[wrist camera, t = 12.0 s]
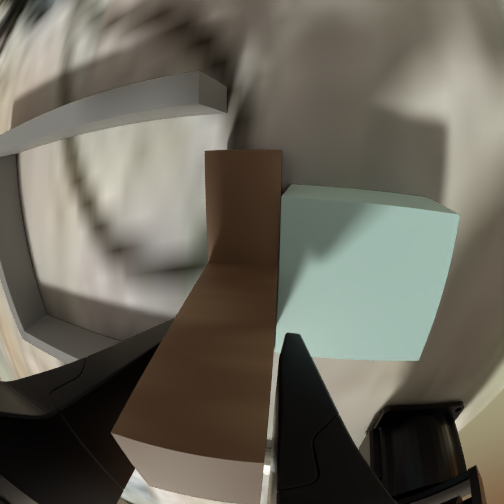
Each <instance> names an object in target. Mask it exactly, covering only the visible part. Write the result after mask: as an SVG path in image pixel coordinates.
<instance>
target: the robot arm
mask: <svg viewBox="0 0 504 504" xmlns="http://www.w3.org/2000/svg"><path fill="white" fill-rule="evenodd" d="M174 319H175V318H174ZM174 319H171V320H169V321H167V322H165V323H163V324H160V325H158V326H156V327H154V328H151V329H149V330H147V331H145V332H142V333H140V334H138V335H135V336H133V337H131V338H128V339H126V340H124V341H122V342H119V343H117V344H115V345H112V346H110V347H108V348H105V349H103V350H100V351H98V352H96V353H93V354H91V355H89V356H87V358H86V357H84V358H81V359H79V360H76V361H74V362H71V363H69V364H66V365H64V366H61V367H58V368H55V369H52V370H49V371H45V372H42V373H39V374H35V375H32V376H29V377H25V378H22V379H18V380H14V381H8V382H3V381H0V504H117V502H118V500H119V498H120V497H121V495H122V493H123V491H124V490H123V489H125V487H126V485H127V483H128V481H129V479H130V477H131V475H132V474H133V472H134V470H135V467H134V466H133V464H132V463H131V462H130V460H129V459H128V457H127V456H126V455H125V453H124V452H123V450H122V449H121V447H120V446H119V444H118V443H117V441H116V440H115V438H114V437H113V435H112V434H111V431H112V429H113V427H114V425H115V423H116V422H117V420H118V418H119V416H120V414H121V412H122V410H123V409H124V407H125V405H126V403H127V401H128V399H129V398H130V396H131V394H132V392H133V390H134V389H135V387H136V385H137V383H138V381H139V380H140V378H141V376H142V374H143V373H144V371H145V369H146V367H147V366H148V364H149V362H150V360H151V359H152V357H153V355H154V353H155V352H156V350H157V348H158V346H159V345H160V343H161V341H162V339H163V338H164V336H165V334H166V333H167V331H168V329H169V328H170V326H171V324H172V322H173V321H174ZM463 409H464V405H463V402H462V401H457V402H449V403H439V404H426V405H408V406H388V407H386V408H384V409H383V410H382V412H381V414H380V416H379V418H378V419H377V421H376V423H375V425H374V427H373V428H372V429H371V430H370V431H369V432H368V433H367V435H366V437H365V439H364V440H363V442H362V444H361V445H360V447H359V450H358V448H357V447H356V445H355V443H354V442H353V440H352V438H351V436H350V434H349V433H348V431H347V429H346V427H345V425H344V423H343V421H342V419H341V417H340V415H339V413H338V411H337V409H336V407H335V404H334V402H333V400H332V398H331V396H330V394H329V392H328V390H327V388H326V386H325V384H324V382H323V380H322V378H321V376H320V374H319V371H318V369H317V367H316V365H315V363H314V361H313V359H312V357H311V355H310V353H309V351H308V349H307V347H306V345H305V343H304V341H303V339H302V337H301V335H300V334H298V333H289V332H287V333H286V334H285V337H284V341H283V345H282V349H281V353H280V357H279V365H278V376H277V386H276V396H275V405H274V419H273V435H272V449H271V463H270V476H269V488H268V499H267V504H487V503H486V497H485V492H484V487H483V482H482V478H481V475H480V473H479V471H478V468H477V466H476V465H475V466H473V467H471V468H469V469H468V471H467V469H466V464H465V460H464V455H463V451H462V447H461V443H460V439H459V435H458V431H457V428H456V424H455V420H456V419H457V417H458V416H459V414H460V413H461V412H462V410H463ZM470 493H471V495H472V497H471V498H469V499H466V500H464V501H463V500H462V497H464V496H466V495H468V494H470Z"/></svg>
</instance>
